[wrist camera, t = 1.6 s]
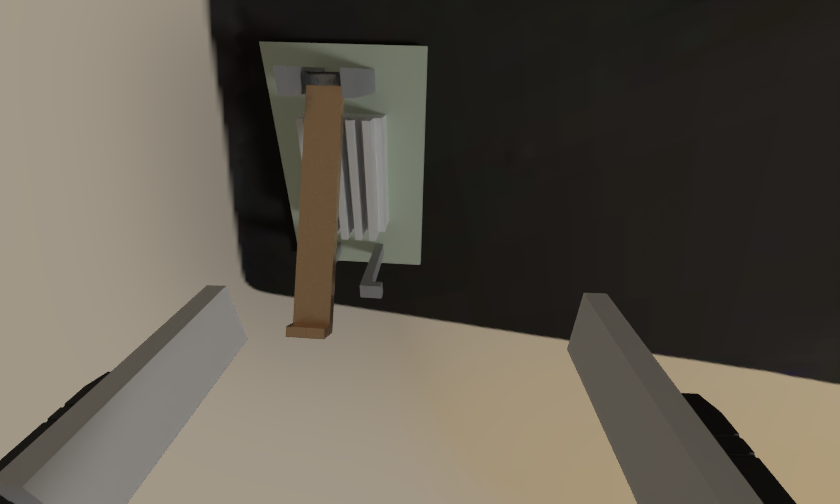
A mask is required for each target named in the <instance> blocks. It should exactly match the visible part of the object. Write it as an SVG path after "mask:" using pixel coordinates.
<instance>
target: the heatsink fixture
mask: <svg viewBox="0 0 840 504" xmlns="http://www.w3.org/2000/svg"><path fill="white" fill-rule="evenodd" d="M259 44H260V49H261V54H262V60H263V65H264V70H265V75H266V81H267V86H268V91H269V97H270V102H271V107H272V112H273V118H274V123H275V128H276V133H277V139H278V144H279V149H280V154H281V160H282V165H283V170H284V175H285V181H286V186H287V191H288V197H289V202H290V207H291V212H292V218H293V223H294V228H295V233H296V239H297V244H298V225H299V207H300V189H301V171H302V153H303V135H304V116H305V98H306V87H305V83H304V73H305V71H320V72H340V80H341V91H342V98H345V105H344V124H343V142H342V161H341V179H340V197H339V216H338V234H337V252H336V262H337V260H342V261H360V262H369V263H368V265H367V268H366V270H365V273H364V276H363V278H362V281H361V283H360V295H361V297H368V298H382V295H383V287H382V282H375V281H376V278H377V275H378V271H379V268H380V265H381V263H397V264H415V265H420V262H421V235H422V205H423V174H424V143H425V113H426V82H427V52H428V47H427V46H402V45H365V44H329V43H293V42H259Z"/></svg>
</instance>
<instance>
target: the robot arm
mask: <svg viewBox="0 0 840 504" xmlns="http://www.w3.org/2000/svg"><path fill="white" fill-rule="evenodd" d="M246 340H247V337H246V334H245V332H244V329H243V327H242V324H241V322H240V319H239V317H238V314H237V312H236V309H235V307H234V304H233V302H232V299H231V297H230V294H229V292H228V289H227V287H226V286H206V287H205V288H204V289H202V290H201V291H200V292H199V293H198V294H197V295H196V296H195V297H194V298H192V299H191V300H190V301H189V302H188V303H187V304H186V305H185V306H184V307H182V308H181V309H180V310H179V311H178V312H177V313H176V314H175V315H174V316H172V317H171V318H170V319H169V320H168V321H167V322H166V323H165V324H164V325H162V326H161V327H160V328H159V329H158V330H157V331H156V332H155V333H154V334H152V335H151V336H150V337H149V338H148V339H147V340H146V341H145V342H144V343H142V345H140V346H139V347H138V348H137V349H136V350H135V351H134V352H132V354H130V355H129V356H128V357H127V358H126V359H125V360H124V361H122V362H121V363H120V364H119V365H118V366H117V367H116V368H115V369H114V370H112V371H111V372H107V373H105V374H104V375H102V376H101V377H99V378H97V379H96V380H94V381H92V382H91V383H89V384H88V385H86V386H85V387H83V388H82V389H81V390H80V391H79V392H78V393H77V394H76V395H74V396H73V397H72V398H71V399H70V400H69V401H67V402H66V403H65V406H64V407H63V408H59V409H58V410H57V411H56V412H55V413H54V414H53V415H51V416H50V417H49V418H48V421H47V422H46V423H42V424H41V425H40V426H39V427H38V428H37V429H35V430H34V431H33V432H32V433H31V434H30V435H29V436H28V437H26V438H25V439H24V440H23V441H22V442H21V443H19V444H18V445H17V446H16V447H15V448H14V449H13V450H11V451H10V452H9V453H8V454H7V455H6V456H5V457H3V458H2V459H1V460H0V504H127V503H128V502H129V500H130V499H131V498H132V496H133V495H134V494H135V492H136V491H137V489H138V488H139V487H140V485H141V484H142V483H143V481H144V480H145V478H146V477H147V475H148V474H149V473H150V472H151V470H152V469H153V468H154V466H155V465H156V464H157V462H158V461H159V459H160V458H161V457H162V455H163V454H164V453H165V451H166V450H167V448H168V447H169V446H170V444H171V443H172V442H173V440H174V439H175V438H176V436H177V435H178V433H179V432H180V431H181V429H182V428H183V427H184V425H185V424H186V423H187V421H188V419H189V418H190V417H191V416H192V414H193V413H194V411H195V410H196V409H197V408H198V406H199V405H200V403H201V402H202V401H203V399H204V398H205V397H206V395H207V394H208V392H209V391H210V390H211V388H212V387H213V385H214V384H215V383H216V382H217V380H218V379H219V377H220V376H221V375H222V373H223V372H224V371H225V369H226V368H227V366H228V365H229V364H230V362H231V361H232V360H233V358H234V357H235V356H236V354H237V353H238V352H239V350H240V349H241V347H242V346H243V345H244V343H245V342H246ZM567 349H568V352H569V354H570V356H571V359H572V361H573V363H574V365H575V367H576V370H577V371H578V374H579V376H580V378H581V380H582V383H583V385H584V387H585V389H586V391H587V394H588V396H589V398H590V400H591V403H592V404H593V407H594V409H595V411H596V413H597V416H598V418H599V420H600V422H601V424H602V427H603V429H604V431H605V433H606V435H607V438H608V440H609V442H610V444H611V446H612V449H613V451H614V453H615V455H616V457H617V460H618V462H619V464H620V466H621V468H622V470H623V473H624V475H625V477H626V479H627V482H628V484H629V486H630V488H631V490H632V493H633V495H634V497H635V499H636V501H637V504H796V503H795V501H794V500H793V499H792V498H791V497H790V496H789V494H788V493H787V492H786V491H785V489H784V488H783V487H782V486H781V484H780V483H779V482H778V481H777V480H776V478H775V477H774V476H773V475H772V474H771V472H770V471H769V470H768V469H767V468H766V466H765V465H764V464H763V463H762V461H761V460H760V459H759V458H756V457H755V455H754V452H753V451H752V449H751V448H750V447H749V446H748V444H747V443H746V442H745V441H744V440H743V439H741V438H740V437H739V433H738V432H737V431H736V430H735V429H734V427H733V426H732V425H731V424H730V423H729V422H728V420H727V419H726V418H725V416H724V415H723V414H722V413H721V412H720V411H719V410H717V409H716V408H715V407H714V406H713V405H711V404H710V403H709V402H707V401H706V400H705V399H704V398H702V397H701V396H700V395H699V394H690V393H680V391H679V390H678V389H677V387H676V386H675V385H674V383H673V382H672V381H671V379H670V378H669V377H668V375H667V374H666V373H665V371H664V370H663V369H662V367H661V366H660V365H659V363H658V362H657V360H656V359H655V358H654V356H653V355H652V354H651V352H650V351H649V350H648V348H647V347H646V346H645V344H644V343H643V342H642V340H641V339H640V338H639V336H638V335H637V334H636V332H635V331H634V330H633V328H632V327H631V326H630V324H629V323H628V322H627V320H626V319H625V318H624V316H623V315H622V314H621V312H620V311H619V310H618V308H617V307H616V306H615V304H614V303H613V302H612V300H611V299H610V298H609V296H608V295H607V294H604V293H584V294H583V298H582V301H581V304H580V308H579V311H578V315H577V318H576V321H575V325H574V328H573V331H572V335H571V338H570V341H569V345H568V348H567Z"/></svg>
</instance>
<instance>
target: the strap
mask: <svg viewBox="0 0 840 504" xmlns="http://www.w3.org/2000/svg"><path fill="white" fill-rule="evenodd" d="M304 83H305V87H306V98H305V116H304V135H303V153H302V171H301V189H300V207H299V225H298V244H297V262H296V280H295V298H294V316H293V323H292V324H290V325H288V326H286V337H298V338H314V339H325V338H326V337H327V336H329V335H330V334H331V333H332V325H333V307H334V289H335V271H336V252H337V234H338V216H339V197H340V179H341V161H342V142H343V124H344V105H345V98H342V91H341V80H340V72H320V71H305V73H304Z"/></svg>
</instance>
